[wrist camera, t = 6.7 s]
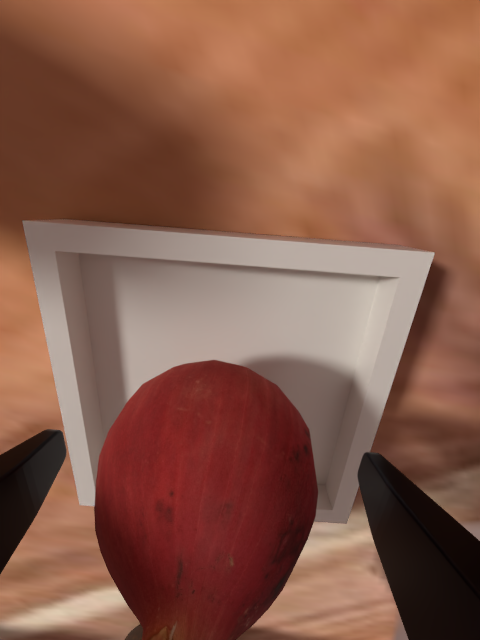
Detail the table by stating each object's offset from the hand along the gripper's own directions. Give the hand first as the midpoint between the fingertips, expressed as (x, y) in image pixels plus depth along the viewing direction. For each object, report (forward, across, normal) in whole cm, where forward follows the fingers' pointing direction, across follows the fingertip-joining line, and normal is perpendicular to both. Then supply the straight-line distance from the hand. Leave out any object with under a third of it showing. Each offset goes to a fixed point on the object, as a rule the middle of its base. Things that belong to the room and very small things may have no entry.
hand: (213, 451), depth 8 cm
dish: (+4, 0, 0) cm, 4 cm away
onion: (+4, 0, 0) cm, 4 cm away
